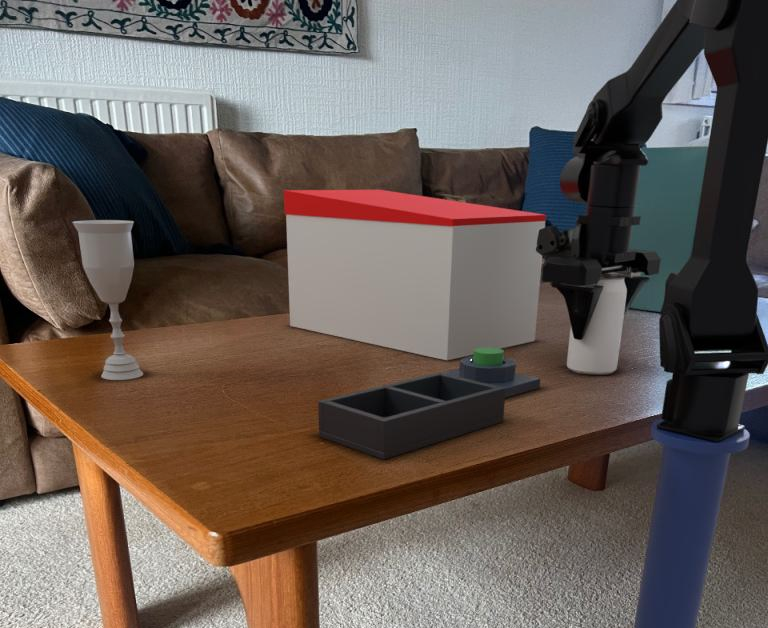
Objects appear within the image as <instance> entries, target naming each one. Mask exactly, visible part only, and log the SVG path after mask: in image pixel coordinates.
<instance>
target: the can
mask: <svg viewBox="0 0 768 628" xmlns="http://www.w3.org/2000/svg"><path fill="white" fill-rule="evenodd" d="M624 279H625V276H621V275H615V274H608V273H606V274H601V278H600V279H599V281H598V283H597V284H595V285H599V286H603V290H602V292H601V295H600V297H599V300H598V302H597V305H596V308H595V310H594V313H593V315H592V318H591V320H590V323H589V326H588V328H587V330H586V333H585V335H584V337H583V339H582V340H577V339H574V337H573V332H572V328H571V327H570V329H569V337H568V338H569V339H568V347H567V348H568V349H567V357H566V358H567V359H566V367H567V368H568V370H569V371H570V372H572V373H576V374H580V375H586V376H606V375H607V376H609V375H612V374H614V373H615V371H617V369H618V365H619V364H618V362H619V356H620V349H621V341H622V335H623V326H624V317H625V315H624V311H625V303H626V294H627V288H626V285H625V282H624Z"/></svg>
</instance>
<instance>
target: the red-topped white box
mask: <svg viewBox="0 0 768 628" xmlns="http://www.w3.org/2000/svg"><path fill="white" fill-rule="evenodd" d="M283 202H284V205H283V206H284V215H285V218H286V219H285V220H286V221H285V222H286V244H287V245H286V249H287V251H286V252H287V271H288V272H287V276H288V277H287V278H288V303H289V305H288V307H289V326H290V327H294V328H298V329H303V330H307V331H311V332H316V333H321V334H325V335H329V336H335V337H337V338H338V337H339V338H343V339H348V340H351V341H352V340H353V341H356V342H362V343H366V344H370V345H375V346H380V347H384V348H388V349H392V350H393V349H394V350H398V351H403V352H407V353H412V354H416V355H420V356H426V357H430V358H435V359H437V360H443V361H451V360H456V359H459V358H466V357H470V356H473V351H474V349H476V348H482V347H490V348H498V349H506V348H510V347H514V346H518V345H522V344H527V343H532V342H535V341H536V331H537V321H538V308H539V296H540V286H541V274H542V264H543V263H542V261H543V255H540V254H539V253H537V251H536V247H537V238H538V233H539V230H540V229H543V228H545V227H546V219H547V215H546V214H543V213H537V212H531V211H523V210H517V209H516V210H515V209H510V208H504V207H503V208H502V207H496V206H491V205H484V204H476V203H470V202H463V201H459V200H458V201H456V200H451V199H443V198H437V197H431V196H424V195H418V194H411V193H406V192H405V193H404V192H399V191H390V190H384V189H292V190H291V189H284V190H283Z"/></svg>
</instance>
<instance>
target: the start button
mask: <svg viewBox="0 0 768 628" xmlns="http://www.w3.org/2000/svg"><path fill="white" fill-rule="evenodd" d="M472 356H473V363H474V364H478V365H487V366H493V365H502V364H503V357H504V356H505V353H504V349H503V348H501V349H498V348H490V347H482V348H476V349H474V351H473V355H472ZM504 358H505V357H504Z"/></svg>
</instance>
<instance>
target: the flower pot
mask: <svg viewBox="0 0 768 628" xmlns="http://www.w3.org/2000/svg"><path fill="white" fill-rule="evenodd" d="M641 151H642V152H643V153H644V154H645V155H646V156H647V159H648V164H647V165H646V166H641V167H640V175H639V182H638V189H637V197H636V204H635V212H634V216H641V218H640V225H633V226H632V233H631V241H630V248H629V249H636V250H647V251H656V253H657V254H658V256H659V257H660V259H661V262H660V268H659V274H654V275H645V274H644V272H641V275H640V277H648V278H650V280H649V282H647V283H646V284H645V285H644V287H643V288H642V290H641V291H640V293H639V294H638V295H637V297H636V298H635V300H634V301H633V303H632V304H631V306H630V307H629V309H634V310H641V311H649V312H657V313H660V311H661V309H662V306H663V302H664V296H665V283H666V280H667V278H668V276H669V274H670V273H679V272H680V270H681V269H682V268H683V266H684V265H685V264H686V263H687V261H688V260H689V259H690V257H691V253H692V247H693V241H694V235H695V228H696V222H697V215H698V209H699V203H700V196H701V190H702V183H703V177H704V171H705V164H706V158H707V152H708V145H705V146H703V145H702V146H699V145H698V146H697V145H696V146H663V147H662V146H657V147H655V146H653V147H642V148H641Z"/></svg>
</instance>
